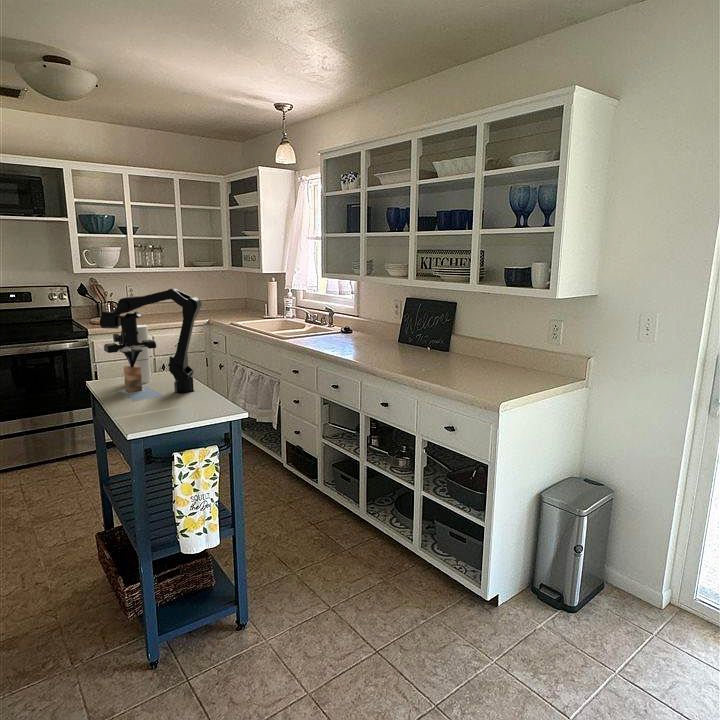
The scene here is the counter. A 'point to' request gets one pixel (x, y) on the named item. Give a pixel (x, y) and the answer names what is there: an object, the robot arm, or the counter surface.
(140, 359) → the cylindrical container
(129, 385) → the walnut block
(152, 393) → the board
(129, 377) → the terracotta block
